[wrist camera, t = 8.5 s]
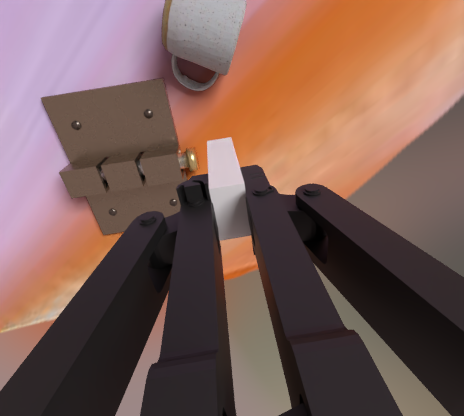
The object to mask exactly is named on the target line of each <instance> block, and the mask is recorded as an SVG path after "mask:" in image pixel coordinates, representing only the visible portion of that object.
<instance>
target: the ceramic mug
mask: <svg viewBox="0 0 464 416" xmlns="http://www.w3.org/2000/svg"><path fill="white" fill-rule="evenodd" d="M245 9H246V0H165V5H164V10H163V18H162V44H163V45H164V47H165V49H166V50H167V51H169V52H170V53H172V60H171V62H172V70H173V73H174V76H175V77H176V79H177V80H178V81H179V82H180V83H181V84H182V85H183V86H185V87H186V88H189V89H191V90H194V91H203V90H205V89H207V88H209V87H210V86H212V85H213V84H214V82H215V81H216V79H217V78H218V76H219V73H220V74H222V75H227V74H228V71H229V68H230V65H231V61H232V58H233V54H234V51H235V47H236V44H237V40H238V36H239V32H240V28H241V25H242V22H243V18H244V14H245ZM177 57H179V58H182V59H185V60H188V61H190V62H193V63H196V64H198V65H200V66H203V67H205V68H208V69H210V70H213V71H215V72H216V73H215V74H214V76H213V77H212V78H211V80H209V81H208V82H206V83H198V82H196V81H194V80H191V79H189V78H188V77H187V76H185V75H182V74H181V73H180V71H179V69H178V66H177Z"/></svg>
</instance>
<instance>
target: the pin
mask: <svg viewBox="0 0 464 416" xmlns="http://www.w3.org/2000/svg"><path fill="white" fill-rule="evenodd" d="M178 160H179V164H180V168H181V169H184V168H189V170H190V172H192V171H198V170H199V163H198V157H197V152H196V149H195V147H191V148H186V153H181V154H178ZM137 165H138V168H139V171H140V174H141V175H144V172H143V169H142V165H141V162H140V160H138V161H137ZM99 171H100V173H101V176H102V178H103V180H104V181H107V180H106V178H105V175H104V173H103V170H102V168H101V166H100V167H99Z"/></svg>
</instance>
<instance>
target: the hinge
mask: <svg viewBox="0 0 464 416" xmlns="http://www.w3.org/2000/svg"><path fill="white" fill-rule="evenodd" d="M41 100H42V102H43V104H44V106H45V109H46V111H47V113H48V115H49V117H50V119H51V122H52V124H53V126H54V128H55V130H56V132H57V135H58V137H59V139H60V141H61V143H62V145H63V148H64V150H65V152H66V154H67V156H68V159H69V161H70V164H69V165H68V166H66V167H65V168H64V169H62V170H61V171H60V172H59V174H60V176H61V178H62V180H63V182H64V184H65V186H66V188H67V190H68V192H69V194H70V196H71V198H77V197H83V196H86V198H87V200H88V202H89V204H90V206H91V208H92V211H93V213H94V215H95V217H96V219H97V222H98V224H99V226H100V228H101V230H102V232H103V235H106V234H113V233H119V232H125V230H126V229H127V228H128V226H129V225H130V224H131V223H132V221H133V220H134V219H135V218H136V217H138V216H140V215H141V214H143V213H146V212H151V211H159V212H161V213H163V215H164V218H165V217H168V216H171V215H174V214H176V213H178V212H179V211H180V207H181V205H180V201H179V198H178V194H177V190H176V188H177V186H178V185H179V184H181V183H182V182H185V181H187V180H188V179H187V175H186V170H185V168H184V169H181V168H180V164H179V160H178V154H181V150H180V145H179V141H178V137H177V133H176V129H175V125H174V121H173V116H172V112H171V108H170V104H169V100H168V96H167V91H166V87H165V83H164V79H163V78H160V79H153V80H147V81H141V82H135V83H128V84H122V85H116V86H110V87H103V88H97V89H91V90H85V91H78V92H72V93H66V94H60V95H53V96H47V97H42V98H41ZM143 151H145V152H144V153H143V154H142V152H143ZM107 157H109V158H108V159H107ZM138 160H140V162H141V165H142V169H143V172H144V175H141V174H140V171H139V168H138V165H137V161H138ZM100 166H101V168H102V170H103V173H104V175H105V178H106V180H107V181H104V180H103V178H102V176H101V173H100V171H99V167H100Z"/></svg>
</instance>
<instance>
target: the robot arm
mask: <svg viewBox="0 0 464 416" xmlns="http://www.w3.org/2000/svg"><path fill="white" fill-rule="evenodd" d="M207 151H208V174H203V175H197V176H192V177H191V178H190V179H189V180H187V181H185V182H182V183H181V184H179V185H178V186H177V188H176V190H177V194H178V198H179V201H180V205H181V207H180V211H179V212H178V213H176V214H174V215H171V216H168V217H165V218H164V215H163V213H161V212H159V211H151V212H146V213H143V214H141V215H140V216H138V217H136V218H135V219H134V220H133V221H132V223H131V224H130V225H129V226H128V228H127V229H126V230H125V232H124V233H123V234H122V235H121V237H120V238H119V239H118V241H117V242H116V243H115V244H114V246H113V247H112V248H111V250H110V251H109V252H108V253H107V255H106V256H105V257H104V259H103V260H102V261H101V262H100V264H99V265H98V266H97V268H96V269H95V270H94V271H93V273H92V274H91V275H90V277H89V278H88V279H87V280H86V282H85V283H84V284H83V286H82V287H81V288H80V290H79V291H78V292H77V293H76V295H75V296H74V297H73V299H72V300H71V301H70V302H69V304H68V305H67V306H66V308H65V309H64V310H63V311H62V313H61V314H60V315H59V317H58V318H57V319H56V320H55V322H54V323H53V324H52V326H51V327H50V328H49V329H48V331H47V332H46V333H45V335H44V336H43V337H42V338H41V340H40V341H39V342H38V344H37V345H36V346H35V347H34V349H33V350H32V351H31V353H30V354H29V355H28V356H27V358H26V359H25V360H24V362H23V363H22V364H21V365H20V367H19V368H18V369H17V371H16V372H15V373H14V375H13V376H12V377H11V378H10V380H9V381H8V382H7V384H6V385H5V386H4V387H3V389H2V390H1V391H0V416H115V414H116V412H117V410H118V407H119V405H120V403H121V400H122V398H123V396H124V394H125V391H126V389H127V386H128V384H129V382H130V380H131V377H132V375H133V372H134V370H135V368H136V366H137V363H138V361H139V359H140V356H141V354H142V352H143V349H144V347H145V345H146V342H147V340H148V338H149V335H150V333H151V331H152V328H153V326H154V324H155V321H156V319H157V317H158V314H159V312H160V310H161V307H162V305H163V302H164V300H165V298H166V295H167V293H168V291H169V294H168V302H167V308H166V316H165V324H164V331H163V337H162V345H161V352H160V357H159V360H158V362H157V363H154V364H152V365H151V367H150V369H149V371H148V375H147V379H146V384H145V390H144V396H143V402H142V408H141V414H140V416H236V410H235V401H234V390H233V379H232V367H231V357H230V345H229V333H228V322H227V311H226V300H225V289H224V277H223V266H222V255H221V246H220V241H219V240H226V239H232V238H238V237H244V236H250V235H251V236H252V244H253V251H254V255H256V259H257V263H258V268H259V272H260V276H261V280H262V284H263V288H264V292H265V297H266V301H267V304H268V309H269V313H270V317H271V321H272V325H273V329H274V334H275V338H276V342H277V346H278V350H279V354H280V359H281V362H282V367H283V371H284V375H285V379H286V383H287V387H288V392H289V396H290V401H291V407H292V409H290V410H288V411H287V412H285V413H283V414H281V415H279V416H403V415H402V413H401V412H400V410H399V408H398V406H397V404H396V402H395V400H394V399H393V396H392V395H391V393H390V391H389V389H388V387H387V385H386V383H385V382H384V380H383V378H382V376H381V374H380V372H379V370H378V369H377V367H376V365H375V363H374V361H373V359H372V357H371V355H370V353H369V352H368V350H367V348H366V346H365V344H364V342H363V341H362V339H361V338H360V336H359V334H358V333H356V332H355V331H354V330H348V329H347V328H346V327H345V326H344V324H343V322H342V320H341V318H340V316H339V314H338V312H337V310H336V308H335V306H334V304H333V302H332V300H331V298H330V296H329V294H328V292H327V290H326V288H325V286H324V284H323V282H322V280H321V278H320V276H319V274H318V272H317V270H316V268H315V266H314V264H315V265H316V266H317V267H318V268H319V269H320V271H321V272H322V273H323V274H324V275H325V276H326V277H327V278H328V280H329V281H330V282H331V283H332V284H333V285H334V286H335V287H336V288H337V289H338V291H340V293H341V294H342V295H343V296H344V297H345V298H346V299H347V301H348V302H349V303H350V304H351V305H352V306H353V307H354V308H355V309H356V311H358V313H359V314H360V315H361V316H362V317H363V318H364V319H365V320H366V322H367V323H368V324H369V325H370V326H371V327H372V328H373V329H374V330H375V331H376V333H377V334H378V335H379V336H380V337H381V338H382V339H383V340H384V341H385V343H386V344H387V345H388V346H389V347H390V348H391V349H392V350H393V351H394V353H395V354H396V355H397V356H398V357H399V358H400V359H401V360H402V361H403V363H404V364H405V365H406V366H407V367H408V368H409V369H410V370H411V371H412V373H413V374H414V375H415V376H416V377H417V378H418V379H419V380H420V381H421V382H422V384H423V385H424V386H425V387H426V388H427V389H428V390H429V391H430V392H431V393H432V395H433V396H434V397H435V398H436V399H437V400H438V401H439V402H440V403H441V404H442V406H443V407H444V408H445V409H446V410H447V411H448V412H449V413H450V415H452V416H464V277H462V276H461V275H459V274H458V273H456V272H455V271H453V270H452V269H450V268H449V267H447V266H445V265H444V264H443V263H441V262H439V261H438V260H436V259H435V258H433V257H432V256H430V255H429V254H427V253H426V252H424V251H423V250H421V249H420V248H418V247H416V246H415V245H413V244H412V243H410V242H409V241H407V240H406V239H404V238H403V237H401V236H400V235H398V234H397V233H395V232H394V231H392V230H390V229H389V228H387V227H386V226H384V225H383V224H381V223H380V222H378V221H377V220H375V219H374V218H372V217H371V216H369V215H368V214H366V213H365V212H363V211H361V210H360V209H359V208H357V207H356V206H354V205H352V204H351V203H349V202H348V201H346V200H345V199H343V198H342V197H340V196H339V195H337V194H336V193H334V192H333V191H331V190H330V189H328V188H326V187H324V186H322V185H318V184H307V185H302V186H300V187H298V188H297V189H296V192H295V195H283V194H279V193H278V192H277V190H276V188H275V187H273V186H271V185H270V184H269V182H268V180H267V178H266V176H265V173H264V171H263V169H262V168H261V167H259V166H258V165H252V166H246V167H240V166H239V163H238V159H237V156H236V153H235V149H234V146H233V142H232V139H231V137H229V138H223V139H217V140H211V141H207ZM313 263H314V264H313Z"/></svg>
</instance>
